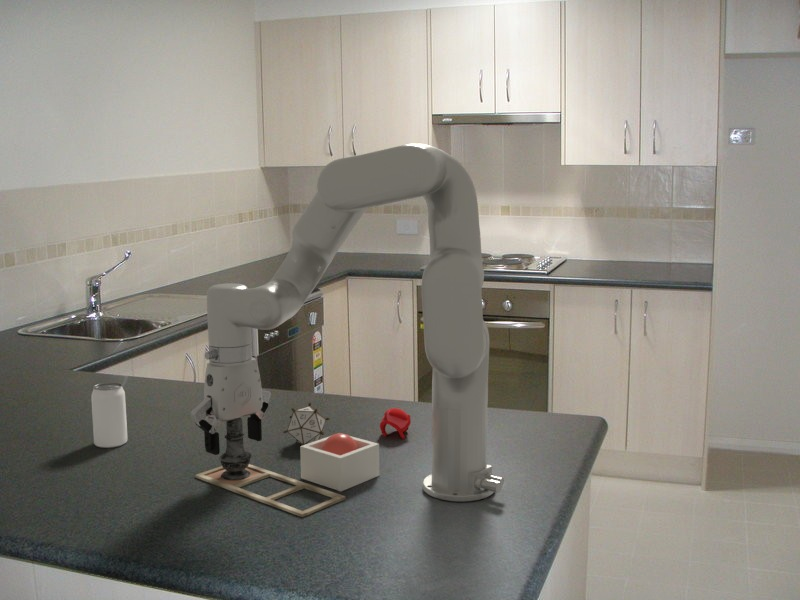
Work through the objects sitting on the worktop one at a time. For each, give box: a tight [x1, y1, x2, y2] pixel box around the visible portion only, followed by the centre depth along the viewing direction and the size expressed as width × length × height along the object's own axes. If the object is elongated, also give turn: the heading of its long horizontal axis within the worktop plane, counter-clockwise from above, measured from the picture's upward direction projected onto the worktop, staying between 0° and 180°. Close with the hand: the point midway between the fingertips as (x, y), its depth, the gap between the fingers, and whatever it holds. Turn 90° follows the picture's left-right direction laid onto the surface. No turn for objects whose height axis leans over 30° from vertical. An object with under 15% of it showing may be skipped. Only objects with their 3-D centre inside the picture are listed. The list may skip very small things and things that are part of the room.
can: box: [90, 382, 128, 449], centre depth 179 cm, size 6×6×12 cm
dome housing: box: [299, 435, 380, 492], centre depth 160 cm, size 10×10×6 cm
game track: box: [194, 463, 347, 518], centre depth 156 cm, size 28×10×1 cm, turn 50°
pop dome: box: [322, 432, 358, 456], centre depth 160 cm, size 6×6×6 cm
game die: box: [282, 402, 331, 446], centre depth 179 cm, size 9×8×10 cm
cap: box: [379, 407, 411, 440], centre depth 184 cm, size 8×6×6 cm
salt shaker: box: [218, 417, 253, 480], centre depth 160 cm, size 6×6×12 cm
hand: (234, 446), depth 160 cm, fingers open, 9 cm apart
